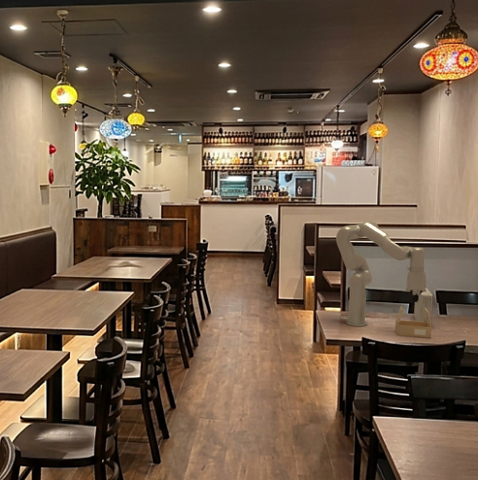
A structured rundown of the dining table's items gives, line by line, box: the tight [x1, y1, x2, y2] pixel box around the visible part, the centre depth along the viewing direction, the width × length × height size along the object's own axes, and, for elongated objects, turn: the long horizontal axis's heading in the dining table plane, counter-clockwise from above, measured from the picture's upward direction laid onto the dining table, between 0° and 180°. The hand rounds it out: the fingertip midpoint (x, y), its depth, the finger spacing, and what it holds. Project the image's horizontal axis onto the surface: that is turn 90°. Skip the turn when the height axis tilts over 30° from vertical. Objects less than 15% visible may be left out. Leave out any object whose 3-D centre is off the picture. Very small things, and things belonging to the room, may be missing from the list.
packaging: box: [413, 287, 434, 323], centre depth 329 cm, size 30×6×20 cm, turn 168°
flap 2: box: [425, 308, 432, 327], centre depth 300 cm, size 1×11×8 cm, turn 168°
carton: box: [394, 319, 432, 339], centre depth 302 cm, size 18×12×6 cm
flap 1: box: [395, 305, 404, 323], centre depth 303 cm, size 1×11×8 cm, turn 169°
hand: (415, 301), depth 300 cm, fingers closed
